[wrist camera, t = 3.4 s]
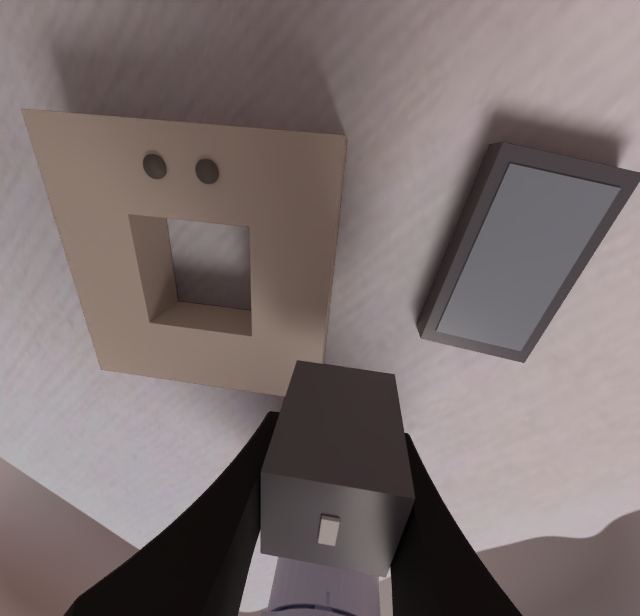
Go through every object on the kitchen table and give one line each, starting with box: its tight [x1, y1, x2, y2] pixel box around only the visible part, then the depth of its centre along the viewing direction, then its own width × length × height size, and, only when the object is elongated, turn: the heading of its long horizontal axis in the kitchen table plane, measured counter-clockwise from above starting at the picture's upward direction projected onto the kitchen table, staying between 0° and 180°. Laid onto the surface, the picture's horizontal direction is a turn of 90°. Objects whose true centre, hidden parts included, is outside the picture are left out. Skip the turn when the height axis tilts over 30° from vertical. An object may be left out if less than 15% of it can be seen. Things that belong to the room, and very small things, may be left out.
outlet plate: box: [21, 109, 347, 397], centre depth 17 cm, size 14×14×3 cm
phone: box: [416, 142, 640, 363], centre depth 16 cm, size 10×6×2 cm, turn 169°
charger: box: [261, 360, 415, 577], centre depth 11 cm, size 4×4×5 cm
